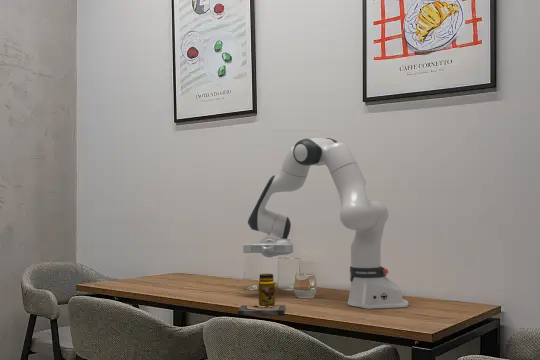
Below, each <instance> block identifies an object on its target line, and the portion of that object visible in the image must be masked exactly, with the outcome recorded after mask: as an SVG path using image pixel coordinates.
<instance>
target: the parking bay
mask: <svg viewBox="0 0 540 360" xmlns="http://www.w3.org/2000/svg"><path fill="white" fill-rule="evenodd" d="M284 311H286V305H283V304H282V305H281V304H279V305H278V309H248V305H243V304H242V305H240V307H239V309H238V310H237V316H284V315H285V312H284Z"/></svg>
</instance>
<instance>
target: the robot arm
mask: <svg viewBox="0 0 540 360" xmlns="http://www.w3.org/2000/svg"><path fill="white" fill-rule="evenodd" d="M311 166H326V168H327V169H328V171H329V174H330V176H331V178H332V180H333V183H334V185H335V188H336V190H337V192H338V195H339V200H340V207H341V209H340V213H339V220H340V223H341V224H342V225H343V226H344V227H345V228H346V229H349V230H352V231H355V234H354V238H353V240H352V243H351V244H350V266H349V281H350V287H349V294H348V300H347V305H349V306H351V307H357V308H362V309H370V310H372V309H391V308H392V309H394V308H395V309H397V308H407V307H409V301H408V300H406V299H405V298H403V293H402V290H401V288H400V286H399V285H397V284H396V283H395V282H393V280H391V279H390V278H388V277H387V275H388V274H389V270H388V269H387V268H386V267H383V266H382V265H381V264H382V263H381V259H382V258H381V257H382V256H381V255H382V254H381V248H382V247H381V246H382V238H383V234H384V228H385V225H386V223H387V220H388V218H389V210H388V207H387V206H386V205H385V204H384V203H382V202H380V201H378V200H374V199H373V200H372V199H370V200H369V199H368V197H367V193H366V179H365V177H364V175H363V173H362V170H361V168H360V166H359V164H358V162H357V159H356V158H355V156H354V155H353V153H352V151H351V150H350V148H349V147H348V145H346V144H345V143H344V142H341V141H340V142H338V141H337V140H336V139H334V138H331V137H326V138H324V137H310V138H303V139H300V140H299V141H297V142H296V143H295V144H294V145H293V146H291V147H290V148H289V149H288V151H287V154H286V156H285V158H284V160H283V163H282V166H281V169H280V170H279V172H278V173H277V174H275V175H272V176H271V177H269V180H268V181H267V183H266V185H265V186H264V189H263V190H262V193H261V194H260V196H259V199H258V200H257V202H256V204H255V206H254V207H253V208H252V210H251V211H250V212H249V215H248V217H247V224H248V226H249V227H250V229H251V230H253V231H257V232H261V233H263V234H264V233H265V234H267V235H265V236H264V237H262V239H260V241H259V242H246V243H243V245H242V249H243V250H242V251H243V253H244V254H261V255H262V256H263V257H266V258H273V257H278V256H283V255H285V256H286V255H291V254H292V253H294V244H293V243H294V242H293V241H291V239H290V238H288V237H289V234H290V231H291V226H292V223H291V220H290V218H289V217H288V216H286V215H284V214H280V213H276V212H273V211H271V210H269V209H267V208H266V205H268V202H269V200H270V199H271V196H272V195H273V194H276V193H282V192H283V193H285V192H287V193H290V192H295V191H298V190H300V189H301V188H302V187H303V186H304V184H305V182H306V180H307V177H308V176H309V175H308V174H309V170H310V167H311Z"/></svg>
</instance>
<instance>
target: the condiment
mask: <svg viewBox="0 0 540 360" xmlns="http://www.w3.org/2000/svg"><path fill="white" fill-rule="evenodd" d="M275 289H276V287H275V280H274V274H273V273H260V274H259V280H258V304H259V305H260V306H265V307H269V306H275V305H276V297H275V296H276V290H275ZM275 307H276V306H275Z"/></svg>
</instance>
